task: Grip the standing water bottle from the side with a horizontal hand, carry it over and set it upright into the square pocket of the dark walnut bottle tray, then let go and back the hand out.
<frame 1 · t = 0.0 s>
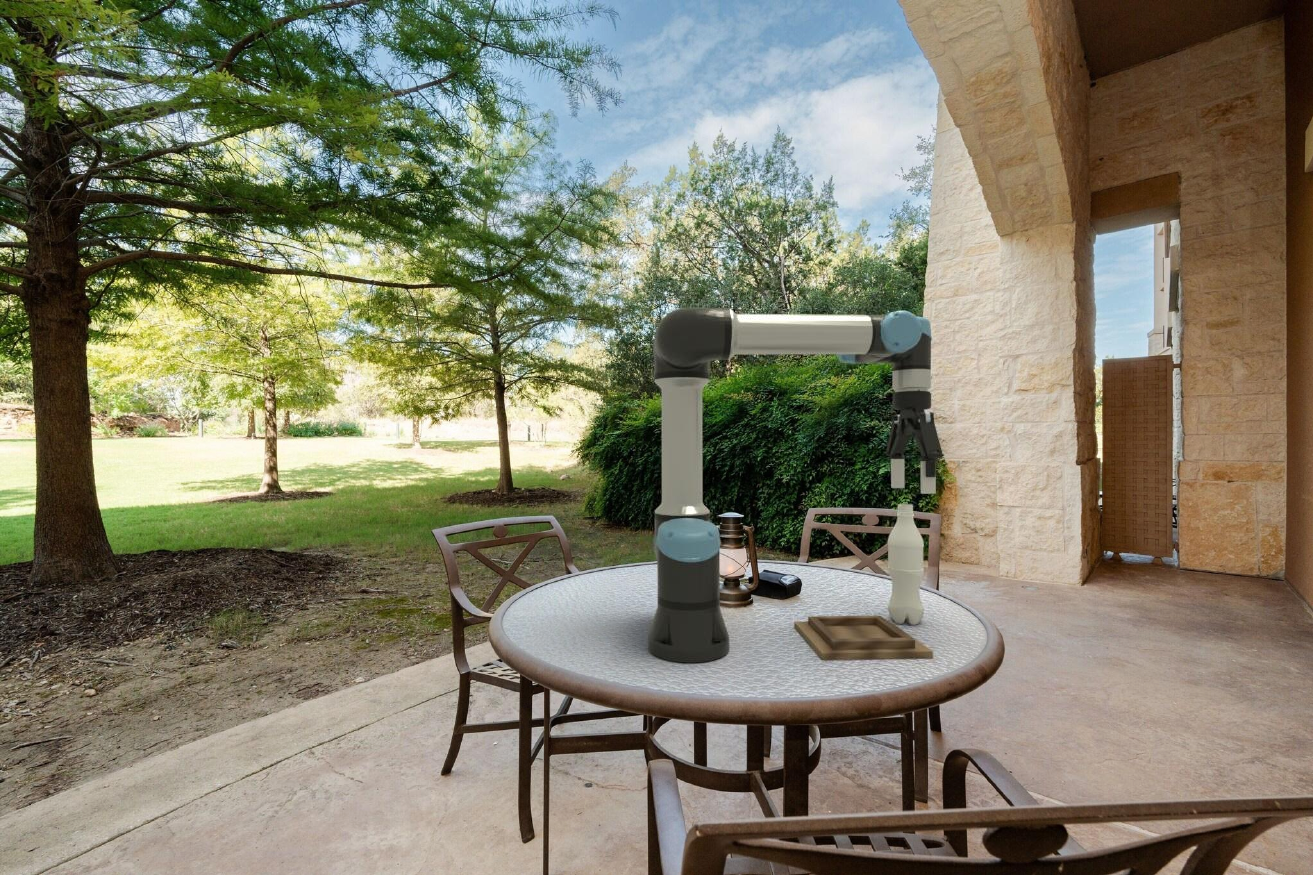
hand: (912, 490, 125), 28 cm above the table, tool pointing down, fingers open, 13 cm apart
water bottle: (905, 622, 126), on the table
walnut bottle tray: (858, 641, 113), on the table
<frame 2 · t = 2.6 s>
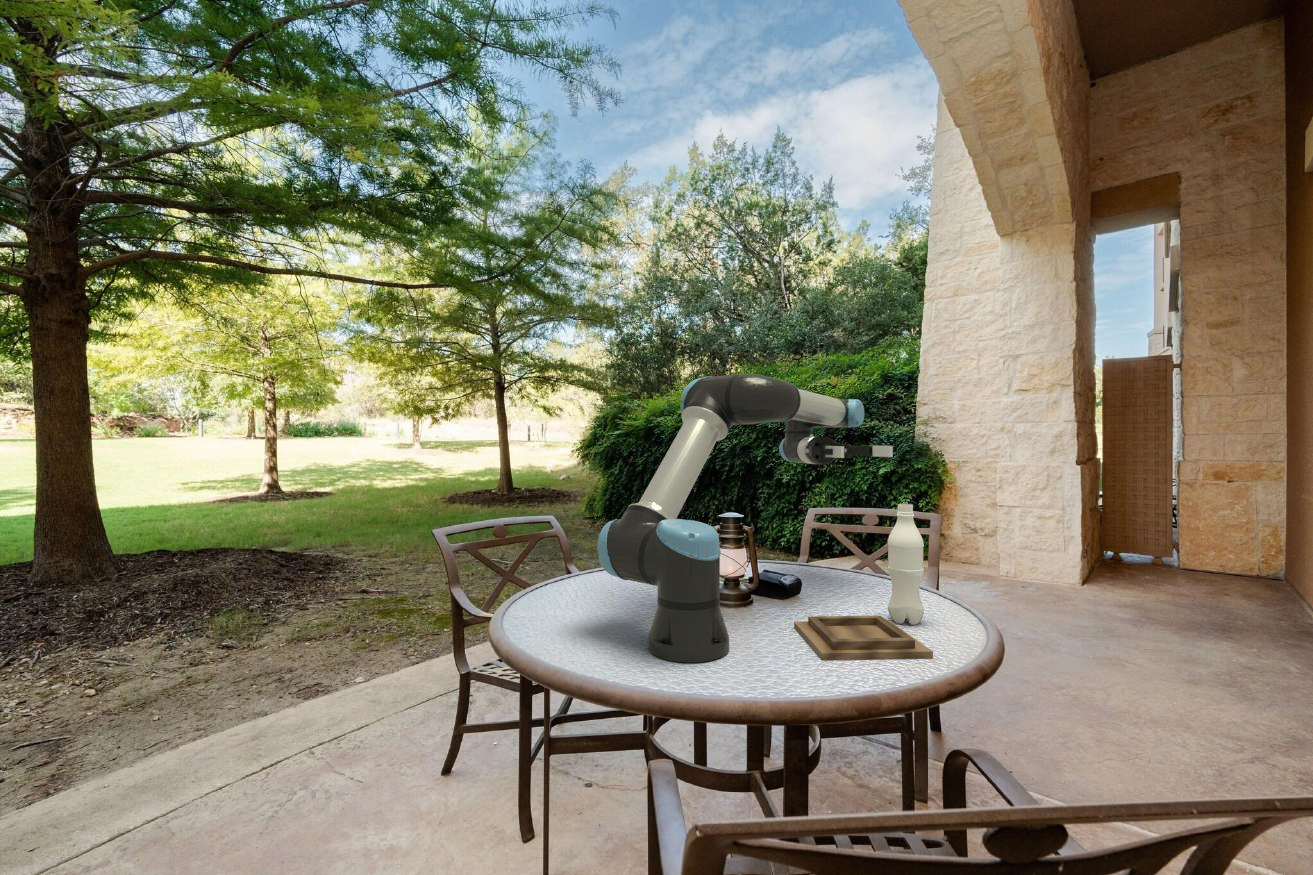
hand: (867, 451, 139), 36 cm above the table, tool horizontal, fingers open, 13 cm apart
nothing on the table moved.
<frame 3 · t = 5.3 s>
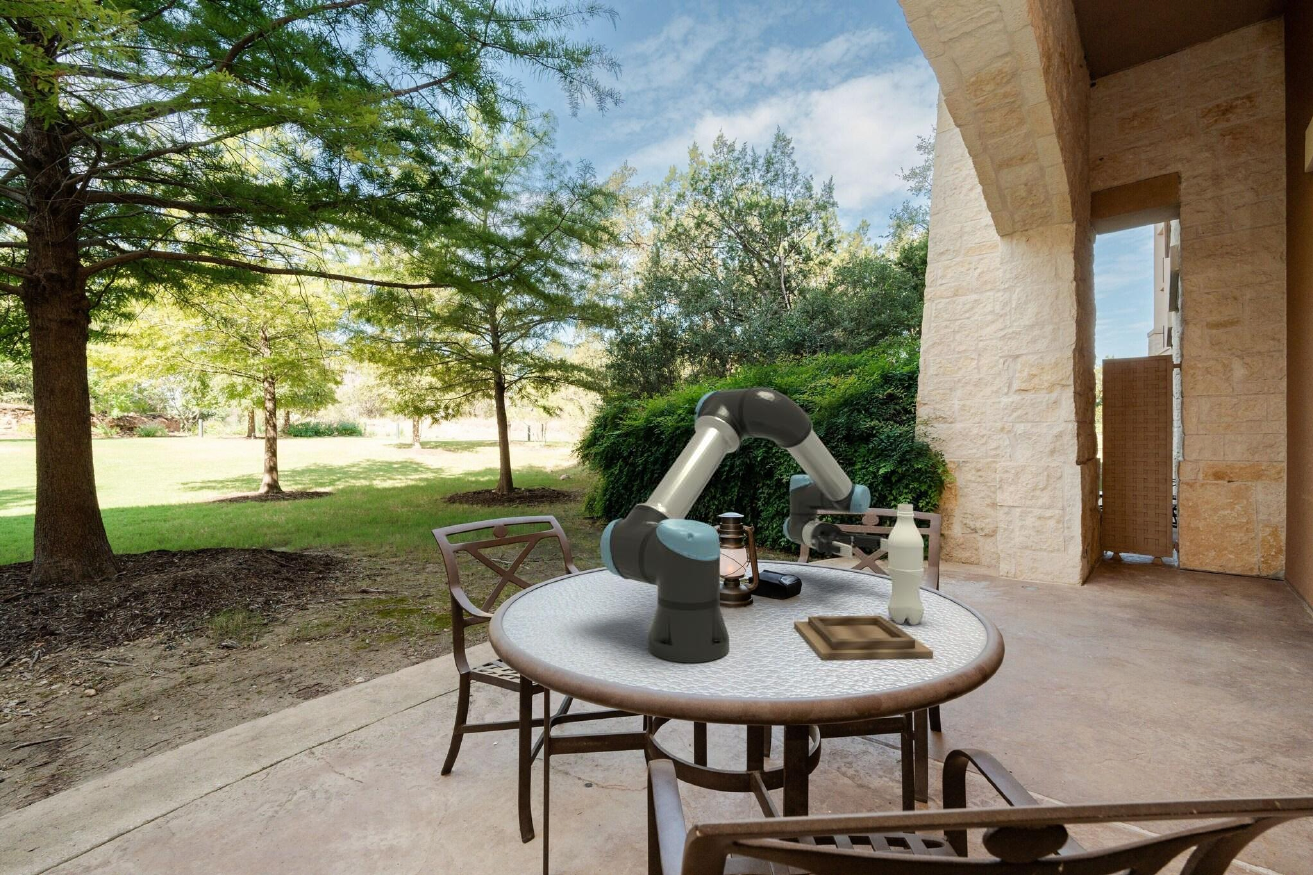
hand: (876, 550, 135), 13 cm above the table, tool horizontal, fingers open, 13 cm apart
nothing on the table moved.
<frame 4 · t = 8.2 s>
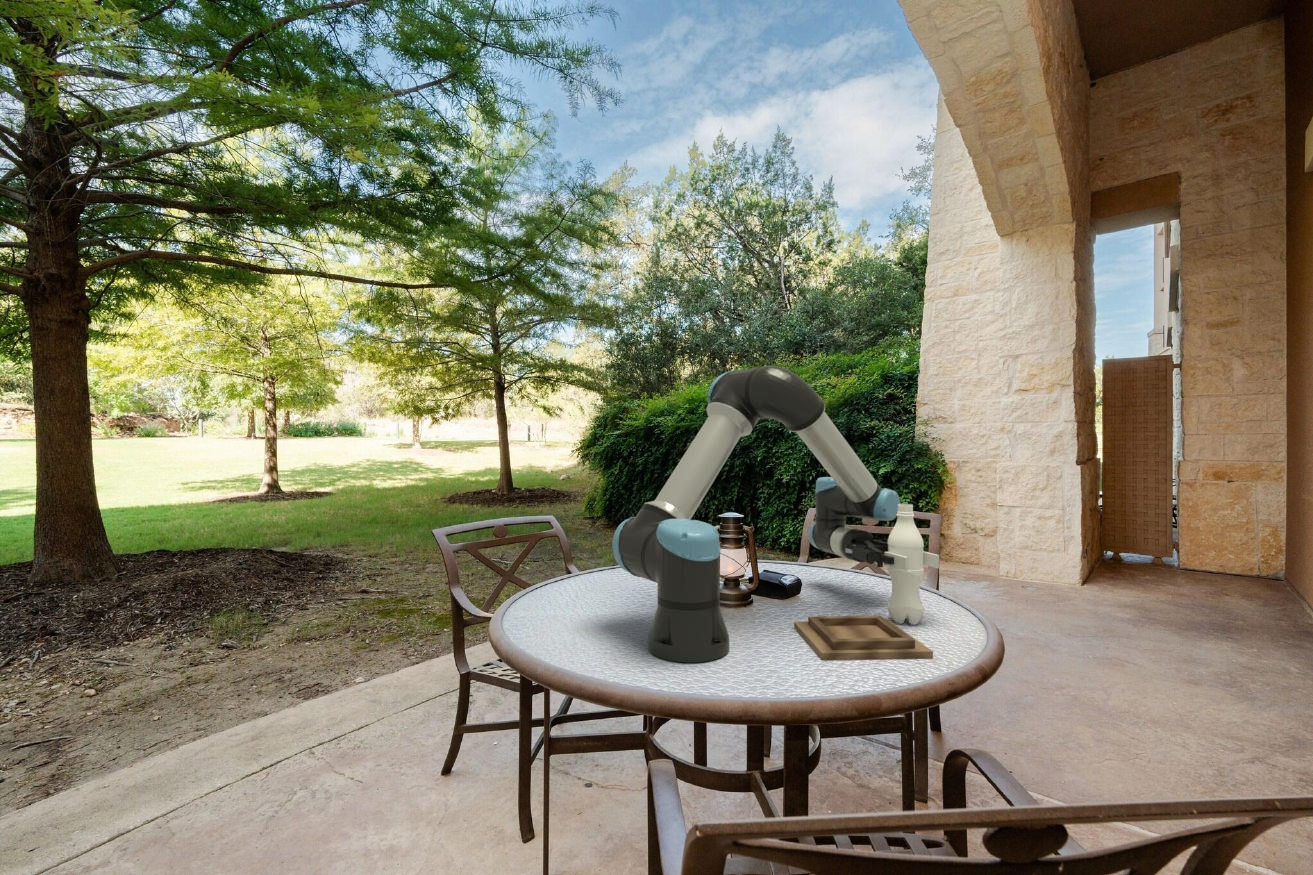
hand: (922, 562, 121), 14 cm above the table, tool horizontal, fingers closed on water bottle, 7 cm apart
water bottle: (905, 622, 126), on the table, touching gripper
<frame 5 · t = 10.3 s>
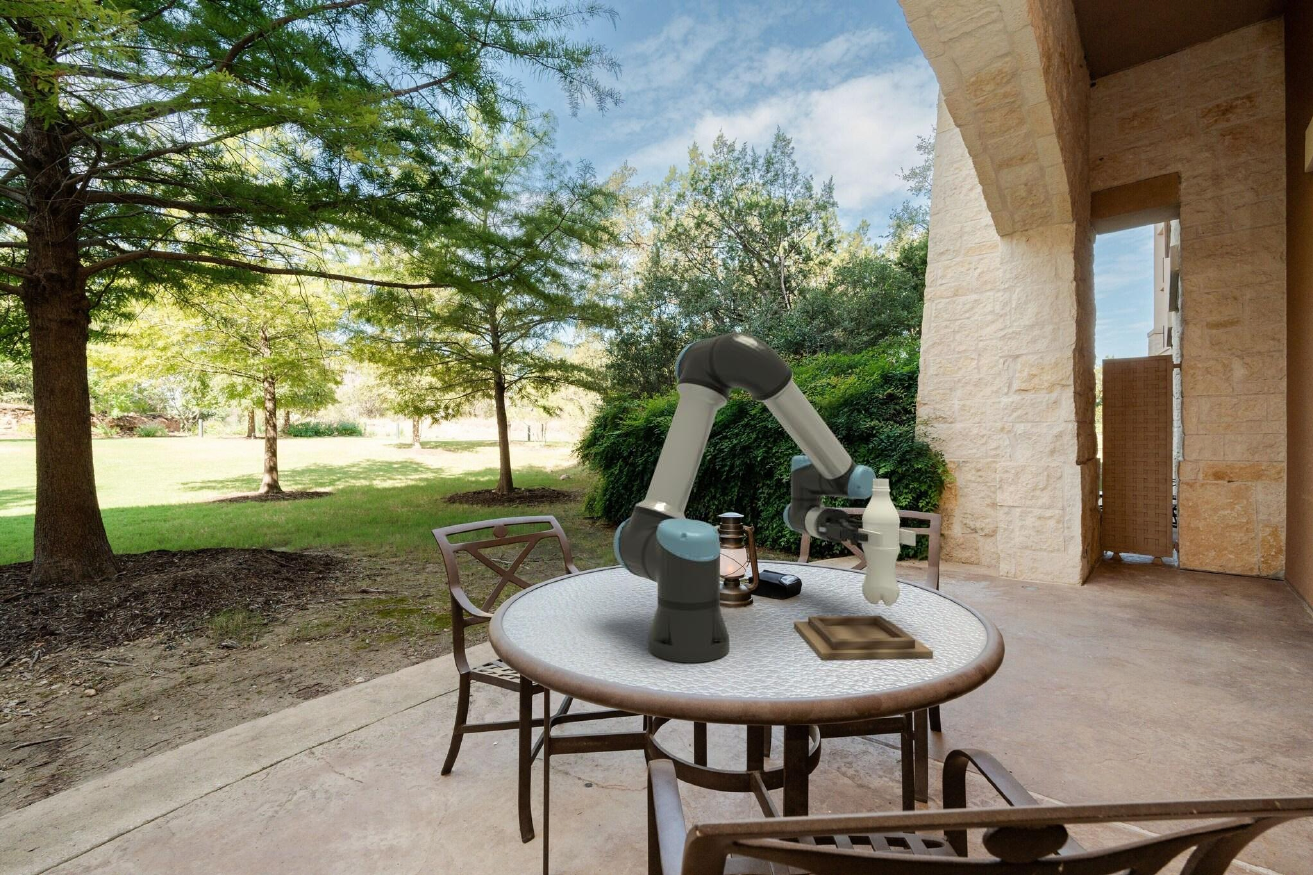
hand: (897, 539, 114), 19 cm above the table, tool horizontal, fingers closed on water bottle, 7 cm apart
water bottle: (880, 603, 119), point 6 cm above the table, touching gripper
when the fingers open (16 cm above the table, at t = 12.7 s): water bottle drops 1 cm, resting on walnut bottle tray.
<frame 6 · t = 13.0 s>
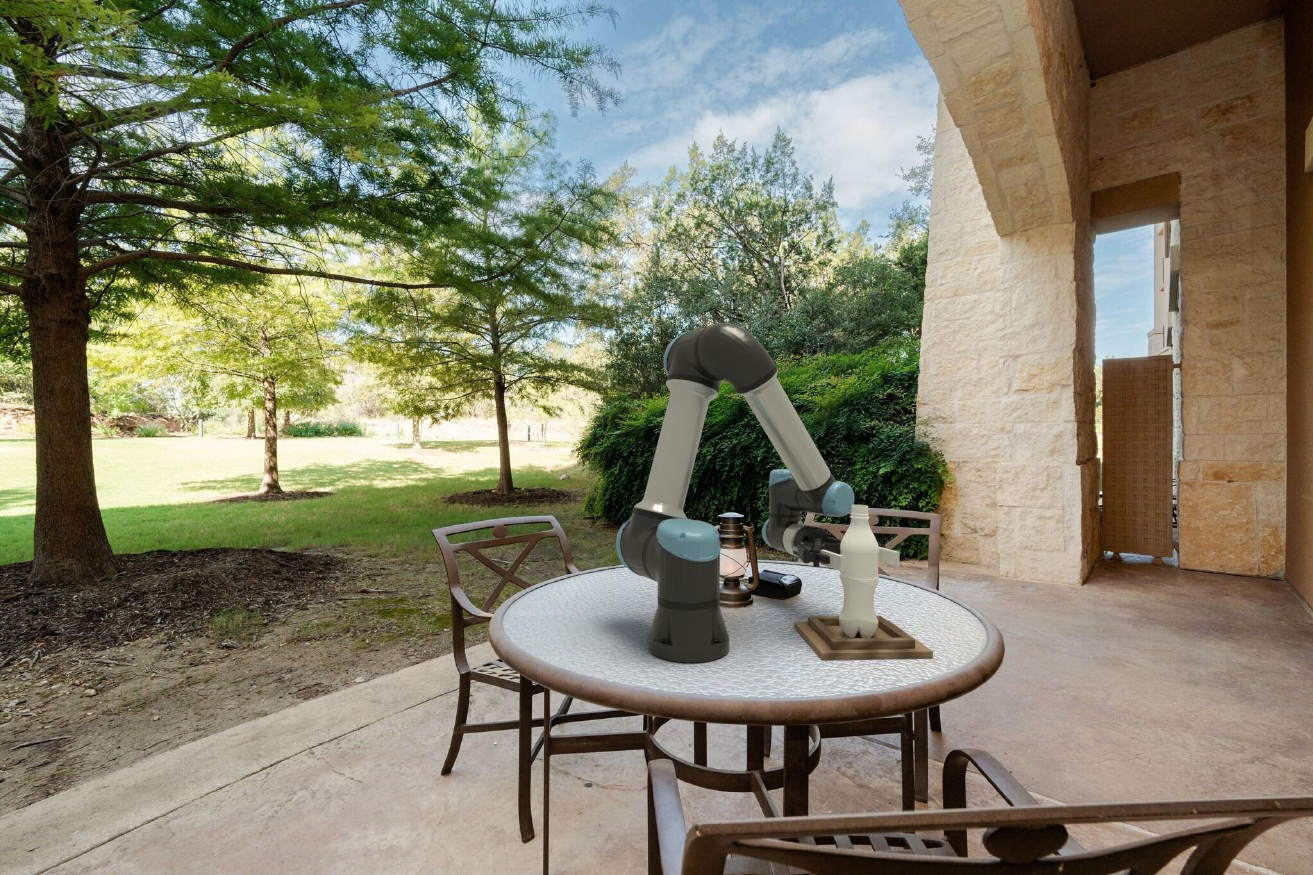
hand: (870, 561, 109), 16 cm above the table, tool horizontal, fingers open, 11 cm apart
water bottle: (858, 636, 113), point 1 cm above the table, touching walnut bottle tray
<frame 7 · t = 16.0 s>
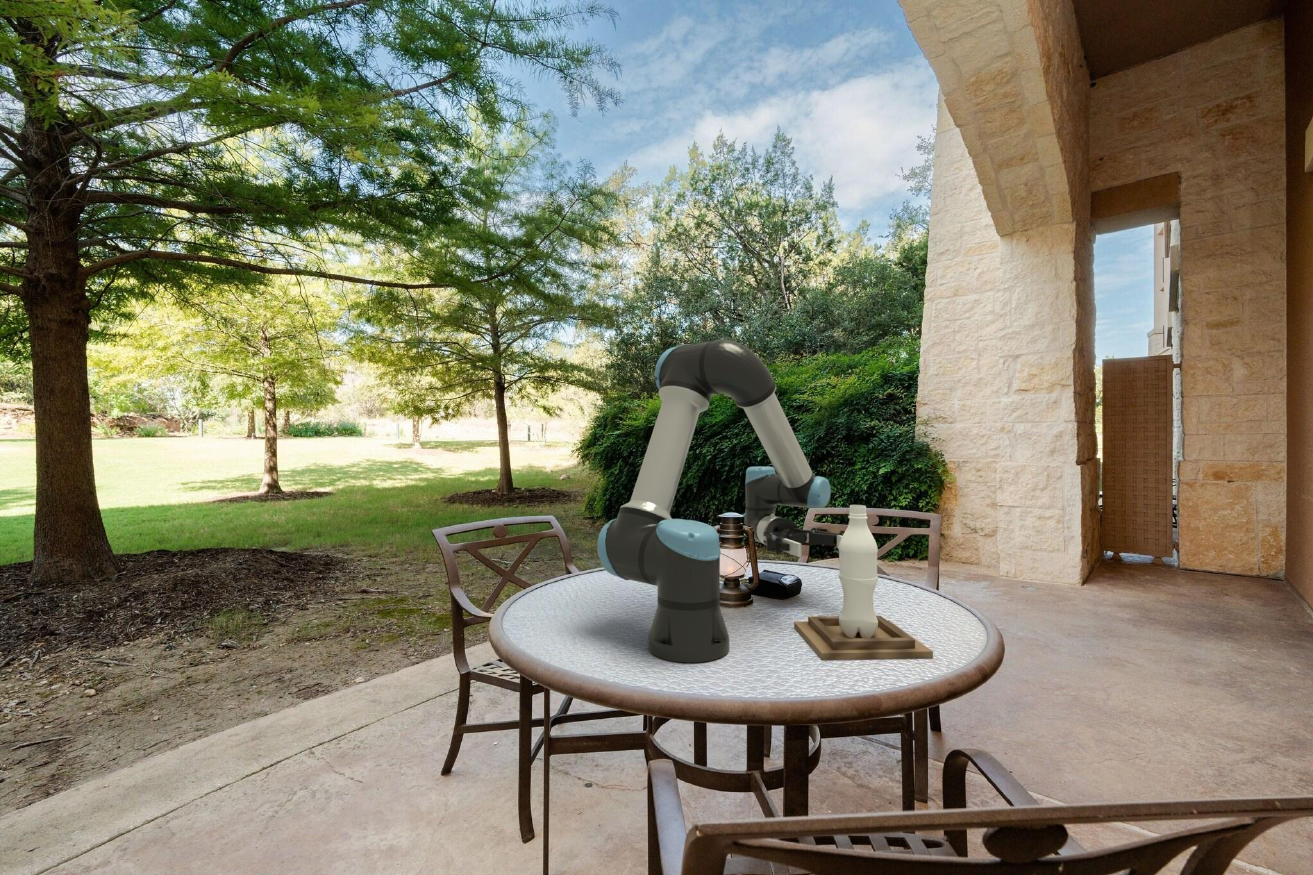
hand: (828, 548, 122), 16 cm above the table, tool horizontal, fingers open, 13 cm apart
nothing on the table moved.
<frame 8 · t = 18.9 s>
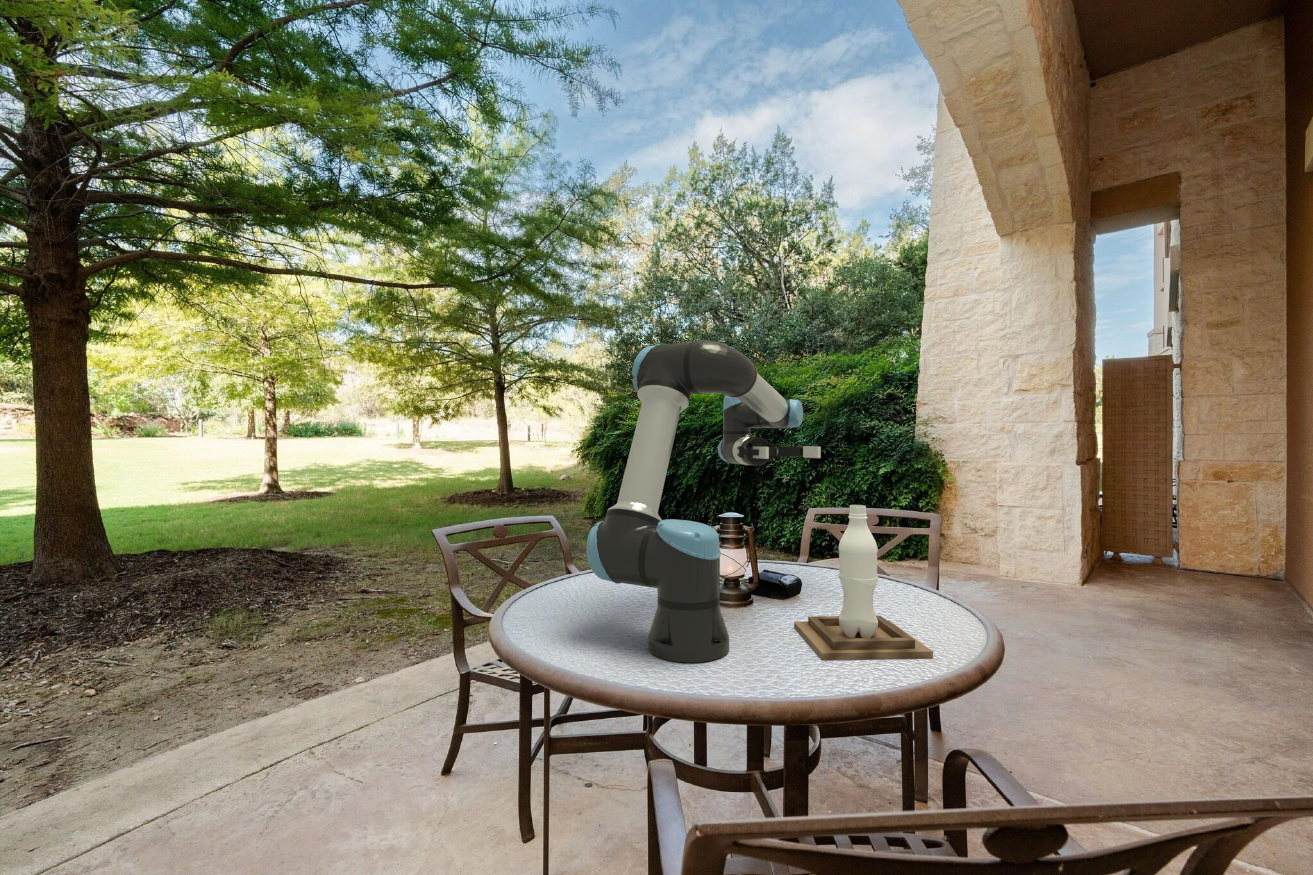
hand: (793, 452, 136), 36 cm above the table, tool horizontal, fingers open, 13 cm apart
nothing on the table moved.
at the end: water bottle inside the target area on the walnut bottle tray (0.0 cm from its centre), point 1.0 cm above the walnut bottle tray's base; water bottle tilted 0°; the gripper is holding nothing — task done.
